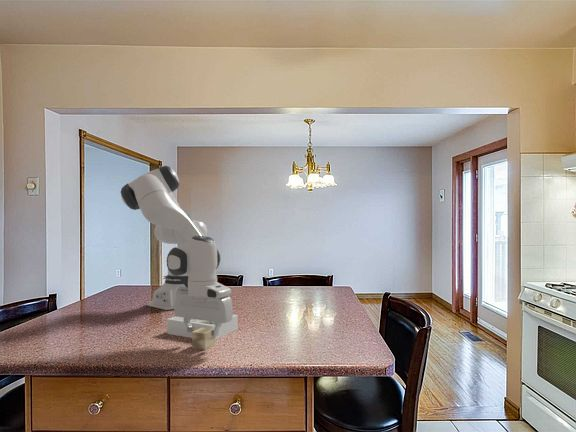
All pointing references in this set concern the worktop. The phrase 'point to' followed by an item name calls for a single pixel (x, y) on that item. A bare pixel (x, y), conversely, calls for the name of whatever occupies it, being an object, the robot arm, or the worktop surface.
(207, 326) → the tote
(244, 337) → the worktop surface
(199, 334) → the maple cube
